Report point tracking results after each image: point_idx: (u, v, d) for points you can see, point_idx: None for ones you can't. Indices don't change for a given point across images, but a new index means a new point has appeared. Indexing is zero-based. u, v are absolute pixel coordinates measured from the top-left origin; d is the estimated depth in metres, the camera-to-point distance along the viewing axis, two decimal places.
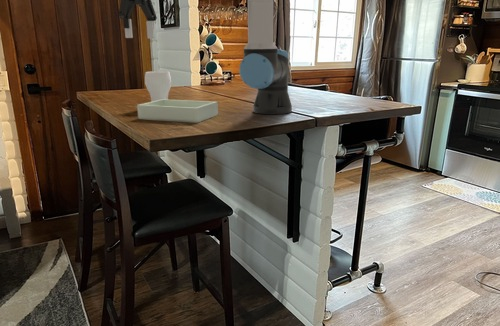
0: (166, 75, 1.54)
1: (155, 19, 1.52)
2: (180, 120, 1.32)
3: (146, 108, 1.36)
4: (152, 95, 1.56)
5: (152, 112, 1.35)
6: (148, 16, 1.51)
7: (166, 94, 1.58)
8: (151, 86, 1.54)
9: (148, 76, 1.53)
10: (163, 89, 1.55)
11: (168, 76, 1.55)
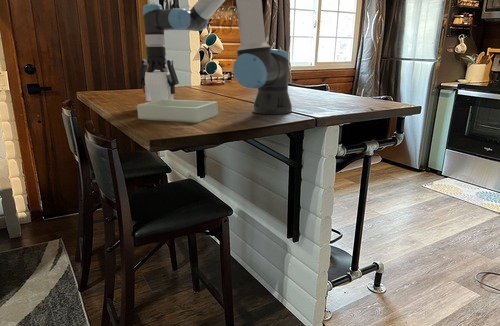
0: None
1: (170, 85, 1.54)
2: (180, 120, 1.32)
3: (146, 108, 1.36)
4: (152, 95, 1.56)
5: (152, 112, 1.35)
6: None
7: (166, 94, 1.58)
8: (151, 86, 1.54)
9: (148, 76, 1.53)
10: (163, 89, 1.55)
11: None
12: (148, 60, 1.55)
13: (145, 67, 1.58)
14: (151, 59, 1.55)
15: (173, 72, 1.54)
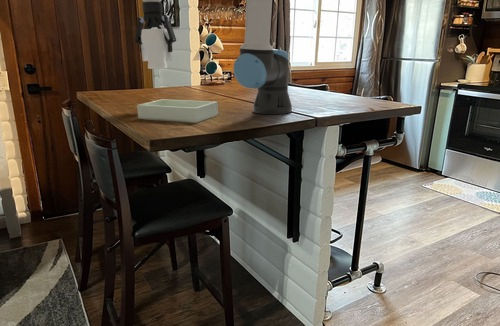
0: None
1: (167, 42, 1.49)
2: (180, 120, 1.32)
3: (146, 108, 1.36)
4: (149, 53, 1.52)
5: (152, 112, 1.35)
6: None
7: (163, 53, 1.53)
8: (148, 43, 1.49)
9: (144, 33, 1.48)
10: (160, 47, 1.50)
11: None
12: (144, 17, 1.50)
13: (141, 25, 1.53)
14: (147, 16, 1.50)
15: (170, 29, 1.49)
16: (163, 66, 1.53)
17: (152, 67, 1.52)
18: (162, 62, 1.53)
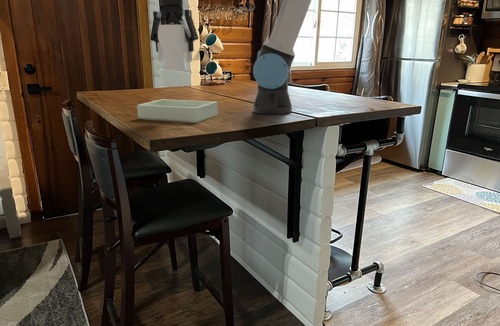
0: (183, 29, 1.30)
1: (188, 40, 1.29)
2: (180, 120, 1.32)
3: (146, 108, 1.36)
4: (166, 53, 1.32)
5: (152, 112, 1.35)
6: None
7: (183, 52, 1.33)
8: (166, 41, 1.29)
9: (162, 29, 1.28)
10: (180, 45, 1.30)
11: None
12: (162, 11, 1.31)
13: (158, 20, 1.34)
14: (166, 10, 1.30)
15: (192, 25, 1.29)
16: (182, 67, 1.34)
17: (170, 69, 1.33)
18: (181, 63, 1.33)
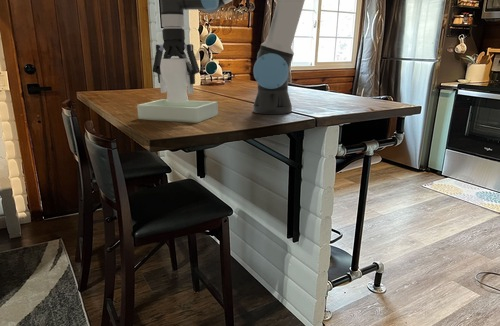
0: (185, 62, 1.33)
1: (189, 73, 1.33)
2: (180, 120, 1.32)
3: (146, 108, 1.36)
4: (168, 85, 1.35)
5: (152, 112, 1.35)
6: None
7: (185, 84, 1.36)
8: (168, 75, 1.32)
9: (164, 63, 1.32)
10: (181, 78, 1.33)
11: None
12: (164, 45, 1.34)
13: (160, 53, 1.37)
14: (168, 43, 1.33)
15: (193, 59, 1.32)
16: (184, 99, 1.37)
17: (172, 100, 1.36)
18: (183, 95, 1.37)
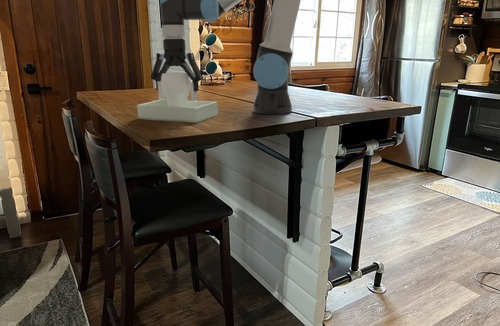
0: (185, 78, 1.34)
1: (193, 80, 1.33)
2: (180, 120, 1.32)
3: (146, 108, 1.36)
4: (169, 100, 1.37)
5: (152, 112, 1.35)
6: None
7: (185, 99, 1.38)
8: (168, 90, 1.34)
9: (165, 78, 1.33)
10: (182, 93, 1.35)
11: (188, 78, 1.35)
12: (165, 55, 1.35)
13: (160, 62, 1.38)
14: (169, 54, 1.34)
15: (195, 66, 1.33)
16: None
17: None
18: None
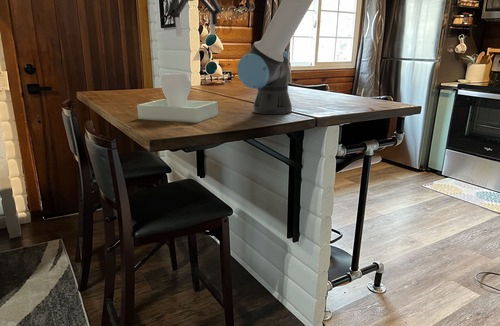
0: (185, 78, 1.34)
1: (212, 12, 1.35)
2: (180, 120, 1.32)
3: (146, 108, 1.36)
4: (169, 100, 1.37)
5: (152, 112, 1.35)
6: None
7: (185, 99, 1.38)
8: (168, 90, 1.34)
9: (165, 78, 1.33)
10: (182, 93, 1.35)
11: (188, 78, 1.35)
12: None
13: None
14: None
15: None
16: None
17: None
18: None
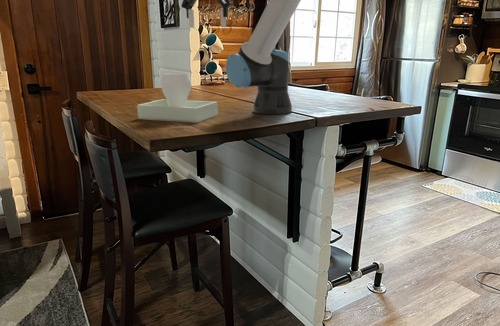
0: (185, 78, 1.34)
1: (223, 5, 1.40)
2: (180, 120, 1.32)
3: (146, 108, 1.36)
4: (169, 100, 1.37)
5: (152, 112, 1.35)
6: None
7: (185, 99, 1.38)
8: (168, 90, 1.34)
9: (165, 78, 1.33)
10: (182, 93, 1.35)
11: (188, 78, 1.35)
12: None
13: None
14: None
15: None
16: None
17: None
18: None
